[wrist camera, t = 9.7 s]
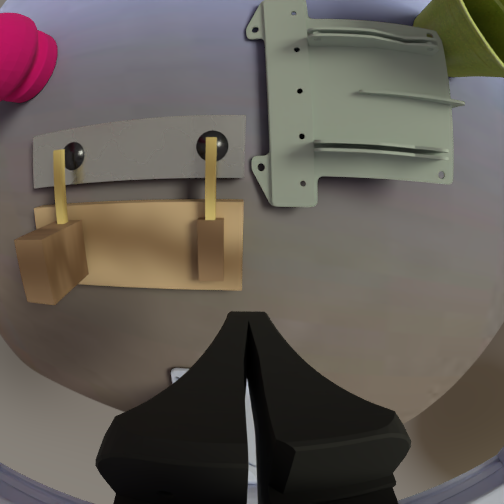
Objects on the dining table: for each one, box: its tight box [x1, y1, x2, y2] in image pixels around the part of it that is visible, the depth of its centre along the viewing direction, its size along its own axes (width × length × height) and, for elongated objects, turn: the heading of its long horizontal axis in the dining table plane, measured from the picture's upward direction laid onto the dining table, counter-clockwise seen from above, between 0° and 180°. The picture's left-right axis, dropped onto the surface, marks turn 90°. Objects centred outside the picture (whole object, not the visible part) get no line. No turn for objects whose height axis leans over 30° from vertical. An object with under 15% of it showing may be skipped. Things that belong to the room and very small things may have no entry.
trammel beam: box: [34, 137, 243, 290], centre depth 18 cm, size 10×16×2 cm, turn 88°
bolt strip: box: [33, 115, 246, 188], centre depth 18 cm, size 4×16×1 cm, turn 88°
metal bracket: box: [246, 0, 465, 207], centre depth 16 cm, size 14×6×15 cm
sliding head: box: [14, 149, 89, 305], centre depth 15 cm, size 9×2×5 cm, turn 178°
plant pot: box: [413, 0, 504, 78], centre depth 12 cm, size 9×9×9 cm
